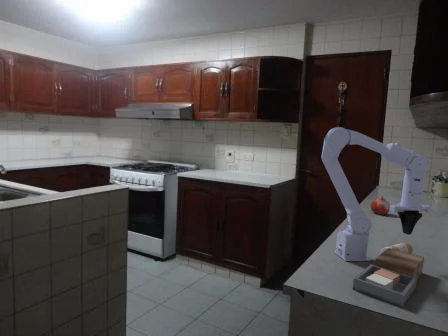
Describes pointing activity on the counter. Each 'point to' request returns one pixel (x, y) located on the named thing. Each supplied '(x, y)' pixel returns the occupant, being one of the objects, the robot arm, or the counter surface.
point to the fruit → (380, 206)
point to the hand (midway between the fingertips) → (406, 233)
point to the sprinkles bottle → (400, 248)
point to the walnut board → (401, 262)
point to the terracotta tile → (389, 276)
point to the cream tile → (380, 281)
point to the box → (393, 296)
